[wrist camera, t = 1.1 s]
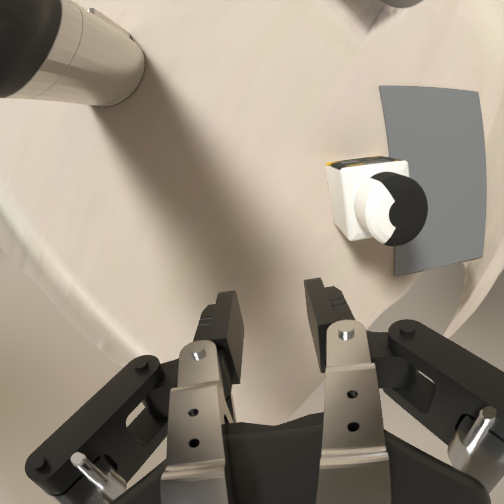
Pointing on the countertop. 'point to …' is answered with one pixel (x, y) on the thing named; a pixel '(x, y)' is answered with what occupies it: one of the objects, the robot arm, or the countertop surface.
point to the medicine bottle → (376, 200)
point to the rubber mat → (440, 171)
